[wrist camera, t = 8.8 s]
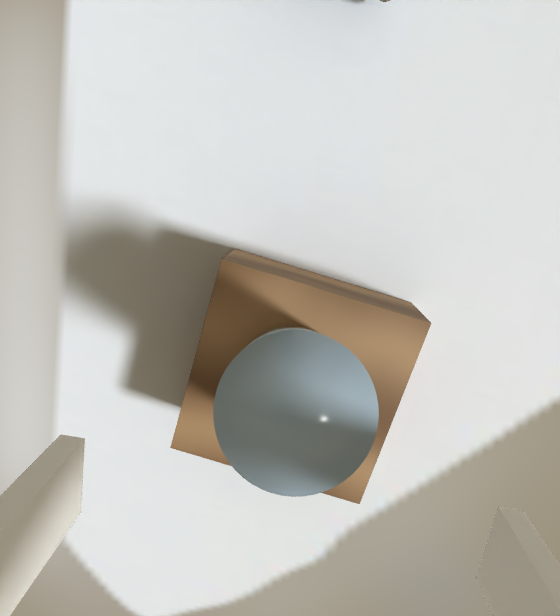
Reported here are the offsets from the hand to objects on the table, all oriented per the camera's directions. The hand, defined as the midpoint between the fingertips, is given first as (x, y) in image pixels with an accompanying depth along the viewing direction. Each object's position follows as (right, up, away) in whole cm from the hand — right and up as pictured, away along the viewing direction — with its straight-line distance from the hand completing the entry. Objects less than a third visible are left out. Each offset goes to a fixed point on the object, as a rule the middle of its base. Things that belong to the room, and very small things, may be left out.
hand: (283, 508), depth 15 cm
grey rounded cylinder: (0, +2, +9) cm, 10 cm away
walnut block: (+1, +3, +15) cm, 15 cm away
